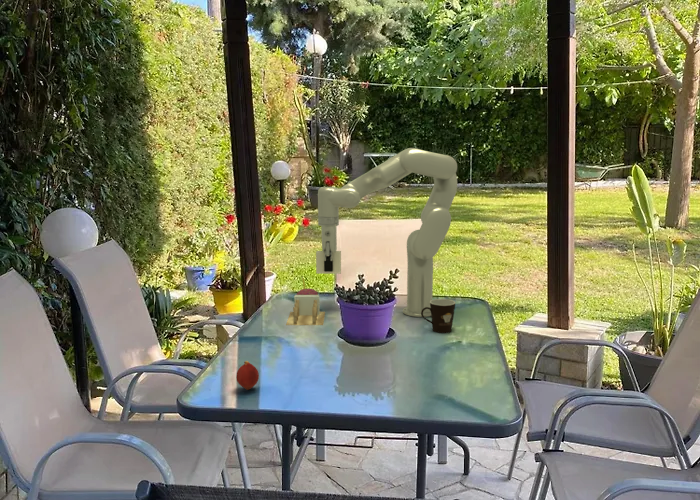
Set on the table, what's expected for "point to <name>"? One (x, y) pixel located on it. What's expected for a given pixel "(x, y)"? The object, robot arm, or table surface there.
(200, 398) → the table surface
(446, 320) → the coffee mug
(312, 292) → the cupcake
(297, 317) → the dish rack
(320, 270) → the cream rectangular slab
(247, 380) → the onion
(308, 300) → the plate
